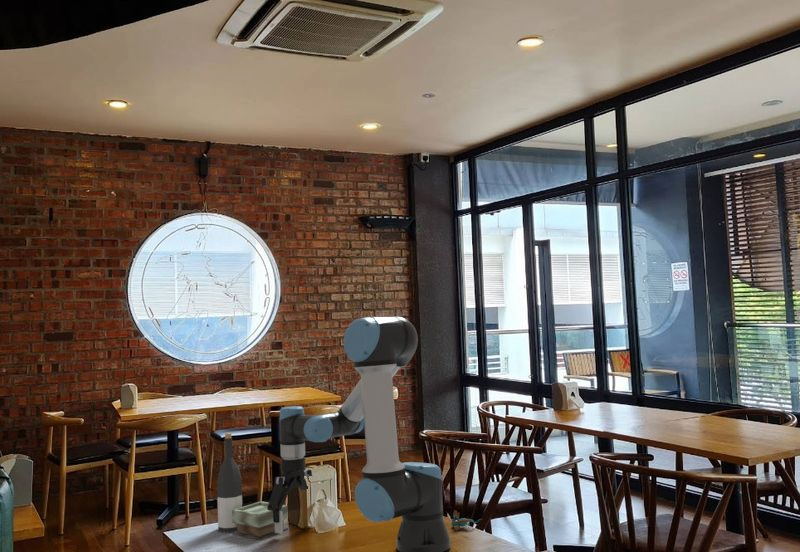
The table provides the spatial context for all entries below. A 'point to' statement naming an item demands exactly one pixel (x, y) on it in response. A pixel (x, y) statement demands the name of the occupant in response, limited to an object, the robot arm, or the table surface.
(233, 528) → the wine bottle
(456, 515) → the dragon figurine
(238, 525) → the two-tone layered tray
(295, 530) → the table surface
